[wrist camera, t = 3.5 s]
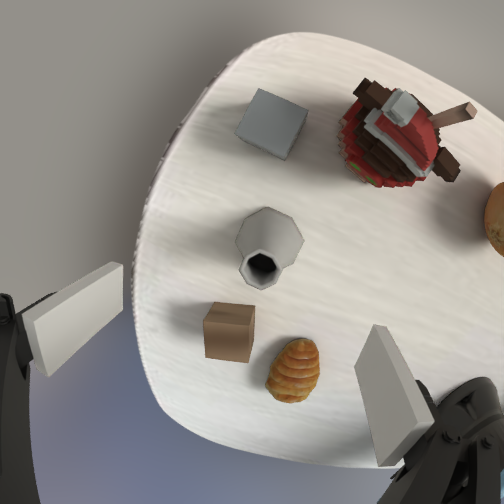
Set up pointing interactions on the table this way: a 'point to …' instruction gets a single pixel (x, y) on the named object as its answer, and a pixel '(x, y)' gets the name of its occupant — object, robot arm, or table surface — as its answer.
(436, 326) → the table surface
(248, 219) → the flask
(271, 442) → the table surface
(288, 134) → the slate-grey block
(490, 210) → the onion
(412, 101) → the cake
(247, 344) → the walnut block
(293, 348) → the pastry
